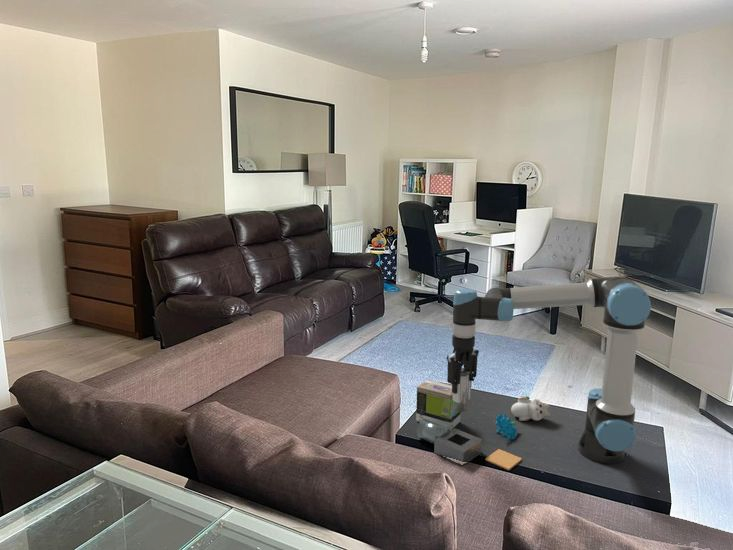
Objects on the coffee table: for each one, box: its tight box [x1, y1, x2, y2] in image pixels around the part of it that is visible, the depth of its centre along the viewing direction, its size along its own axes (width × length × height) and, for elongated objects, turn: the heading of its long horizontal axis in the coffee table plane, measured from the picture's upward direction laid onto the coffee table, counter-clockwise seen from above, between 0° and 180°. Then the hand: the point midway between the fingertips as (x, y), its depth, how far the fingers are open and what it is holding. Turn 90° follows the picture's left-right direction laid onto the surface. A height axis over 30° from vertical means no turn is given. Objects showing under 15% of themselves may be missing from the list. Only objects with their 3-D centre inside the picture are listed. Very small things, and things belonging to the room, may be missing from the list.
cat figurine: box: [510, 396, 551, 422], centre depth 212 cm, size 10×8×15 cm
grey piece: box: [416, 419, 484, 463], centre depth 189 cm, size 22×12×7 cm, turn 46°
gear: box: [495, 413, 518, 441], centre depth 199 cm, size 11×6×10 cm
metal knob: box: [455, 367, 470, 413], centre depth 182 cm, size 5×5×14 cm
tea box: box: [415, 379, 462, 430], centre depth 208 cm, size 15×10×15 cm
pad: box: [485, 448, 523, 471], centre depth 182 cm, size 9×9×1 cm
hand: (461, 399), depth 183 cm, fingers closed on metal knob, 4 cm apart
